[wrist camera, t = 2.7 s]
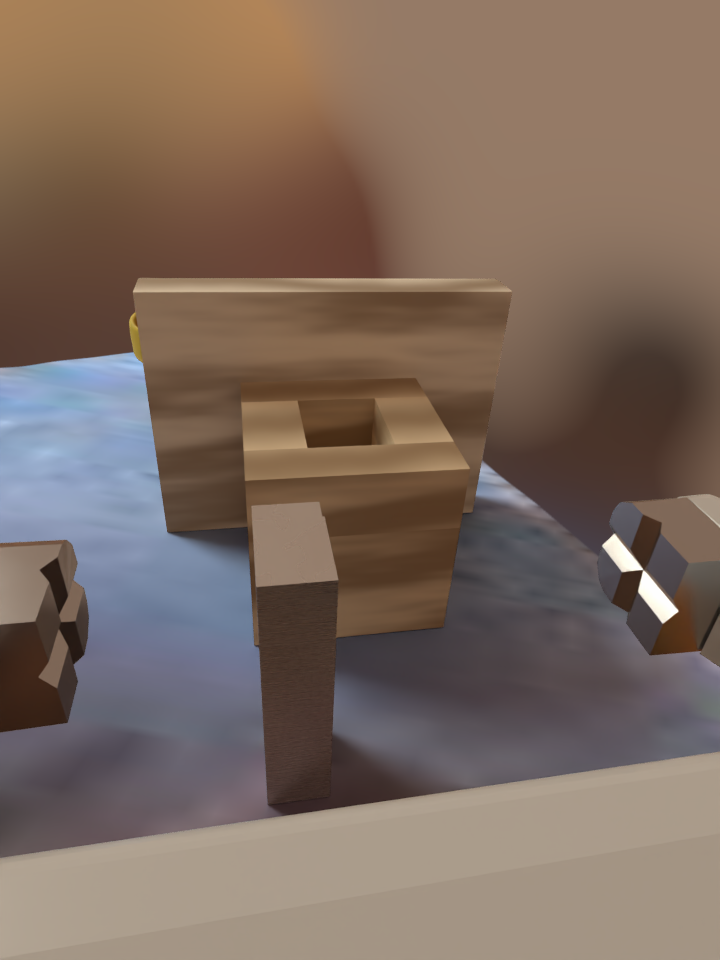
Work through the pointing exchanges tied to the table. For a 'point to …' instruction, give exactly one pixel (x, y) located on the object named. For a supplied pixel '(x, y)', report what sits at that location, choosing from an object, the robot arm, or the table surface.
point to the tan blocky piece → (329, 420)
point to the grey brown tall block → (296, 647)
